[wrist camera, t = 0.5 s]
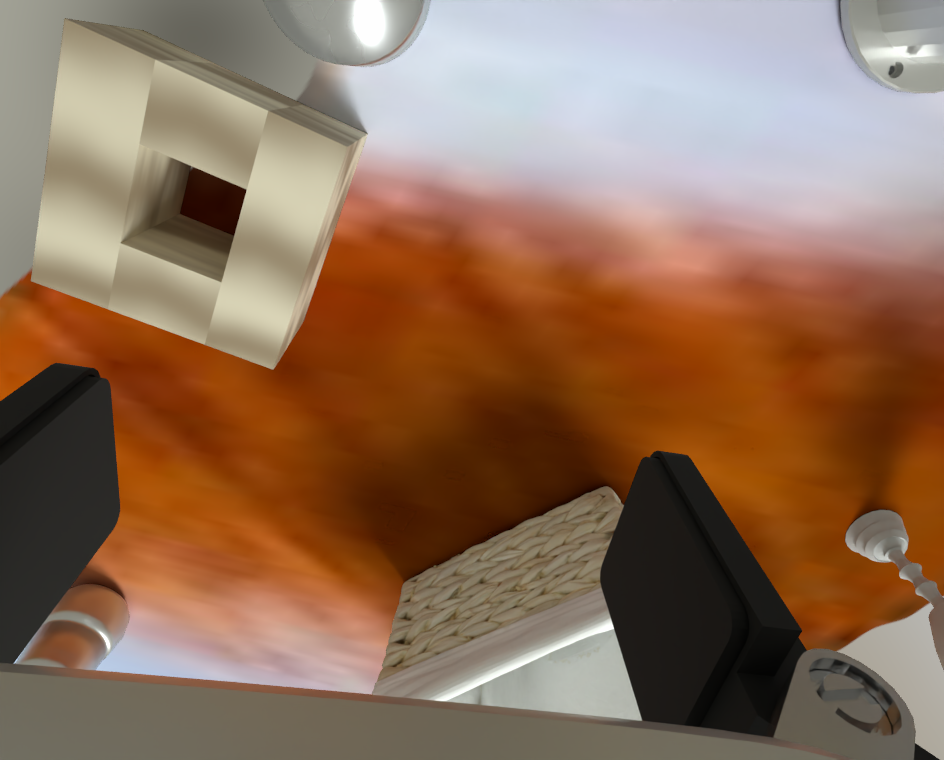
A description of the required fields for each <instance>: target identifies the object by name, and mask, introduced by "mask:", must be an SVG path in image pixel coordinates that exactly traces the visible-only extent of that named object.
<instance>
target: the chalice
mask: <svg viewBox="0 0 944 760" xmlns="http://www.w3.org/2000/svg"><path fill="white" fill-rule="evenodd" d="M908 540H909V539H908V536H907V534H906V530H905V527H904V526H903V521H902V518H901V517H900V516H899V515H898V514H897V513H895V512H893V511H890V510H878V511H872V512H870V513H867V514H865V515H863V516H861V517H860V518H858V519H857V520H855V521H854V523H853V524H852V525H851V526H850V527H849V529H848V531H847V533H846V539H845V541H846V543H847V546H848V547H849V548H850V549H851V550H852V551H855V552H858V553H860V554H861V555H863V556H865V557H868V558H869V559H871V560H873V561H877V562H891V561H892V562H894V563H895V564H896V565H897V567H898V568H899V570H900V572H899V576H900V577H901V578H902V579H908V580H909V581H911V582H912V583H913V584H914V586H915V588H916V594H917V595H919V596H923V597H924V598H925V599H927V600H928V601H929V602H931V604H932V605H933V607H934V609H933V610H932V611H931V612H930V614H929V621H930V626H931V630H932V635H933V640H934V644H935V648H936V652H937V654H938V657H939V659H940V662H941V665H942V667H943V670H944V598H943V597H942V596H941V594H940V593H939V591H938V589H937V584H936V583H935V582H933V581H929V580H928V579H926V578H924V577H923V575H922V573H921V569H922V567H921V566H920V565H919V564H917V563H912V562H910V561H909V560H907V559H906V557H905V556H904V553H905V552H906V550H907V546H908Z"/></svg>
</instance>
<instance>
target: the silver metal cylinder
mask: <svg viewBox="0 0 944 760" xmlns="http://www.w3.org/2000/svg"><path fill="white" fill-rule="evenodd" d="M263 1H264V3H265V5H266V7H267V9H268V11H269V13H270V15H271V16H272V18H273V19H274V21H275V22H276V24H277V25H278V27H279V28H280V29H281V30H282V31H283V33H284V34H285V35H286V36H287V37H288V38H289V39H290V40H291V41H292V42H293V43H294V44H296V45H297V46H298V47H300V48H301V49H302V50H304V51H305V52H307V53H309V54H311V55H312V56H314V57H316V58H318V59H321V60H323V61H326V62H330V63H334V64H341V65H350V66H359V67H372V66H377V65H381V64H384V63H387V62H389V61H391V60H393V59H395V58H397V57H398V56H400V55H401V54H402V53H404V52H405V51H406V50H407V49H408V48H409V47H410V46H411V45H412V44H413V42H414V41H415V40H416V38H417V37H418V35H419V33H420V32H421V30H422V28H423V26H424V23H425V21H426V18H427V15H428V11H429V7H430V1H431V0H263Z"/></svg>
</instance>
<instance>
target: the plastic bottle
mask: <svg viewBox="0 0 944 760" xmlns="http://www.w3.org/2000/svg"><path fill="white" fill-rule="evenodd" d="M129 618H130V615H129V610H128V605H127V603H126V601H125V600H124V599H123V598H122V597H121V596H120V595H119V594H118V593H117V592H115V591H114V590H112V589H110V588H107V587H104V586H101V585H96V584H83V585H79V586H76V587H73V588H70V589H68V591H67V592H66V593H65V595H64V596H63V597H62V599H61V600H60V601H59V603H58V604H57V605H56V607H55V608H54V609H53V611H52V612H51V614H50V615H49V616H48V618H47V619H46V620H45V622H44V623H43V624H42V626H41V627H40V628H39V630H38V631H37V632H36V634H35V635H34V636H33V638H32V639H31V640H30V642H29V643H28V644H27V646H26V647H25V649H24V650H23V652H22V653H21V655H20V657H19V658H18V660H17V661H16V663H15V664H24V665H37V666H49V667H61V668H72V669H84V670H96V669H97V667H98V666H99V665H100V663H101V662H102V660H104V659H105V658H106V657H107V656H108V655H109V654H110V653H111V651H112V650H113V649H114V648H115V646H116V645H117V644H118V643H119V642H120V640H121V639H122V638H123V636H124V633H125V631H126V628H127V625H128V623H129Z"/></svg>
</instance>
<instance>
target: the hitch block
mask: <svg viewBox="0 0 944 760" xmlns="http://www.w3.org/2000/svg"><path fill="white" fill-rule="evenodd" d="M367 135H368V134H366V133H364V132H362V131H360V130H358V129H356V128H353V127H351V126H349V125H347V124H345V123H343V122H340V121H338V120H336V119H334V118H332V117H330V116H327V115H325V114H323V113H321V112H319V111H317V110H314V109H312V108H310V107H308V106H306V105H304V104H302V103H299V102H297V101H295V100H293V99H291V98H289V97H286V96H284V95H282V94H280V93H278V92H276V91H273V90H271V89H269V88H267V87H265V86H263V85H260V84H258V83H256V82H254V81H252V80H250V79H247V78H245V77H243V76H241V75H239V74H237V73H234V72H232V71H230V70H228V69H226V68H223V67H221V66H219V65H217V64H215V63H212V62H211V61H209V60H206V59H204V58H202V57H200V56H198V55H195V54H193V53H191V52H189V51H187V50H185V49H183V48H180V47H178V46H176V45H174V44H172V43H170V42H167V41H165V40H163V39H161V38H159V37H157V36H154V35H152V34H150V33H148V32H146V31H144V30H137V29H130V28H124V27H117V26H111V25H104V24H98V23H91V22H85V21H79V20H72V19H66V18H65V20H64V27H63V35H62V43H61V51H60V59H59V67H58V74H57V82H56V90H55V97H54V105H53V113H52V121H51V129H50V136H49V144H48V152H47V160H46V168H45V176H44V183H43V192H42V199H41V207H40V215H39V223H38V231H37V239H36V246H35V254H34V261H33V269H32V277H31V281H32V282H35V283H38V284H41V285H43V286H46V287H49V288H51V289H54V290H57V291H60V292H62V293H65V294H68V295H71V296H73V297H76V298H79V299H82V300H84V301H87V302H90V303H92V304H95V305H98V306H101V307H103V308H106V309H109V310H112V311H114V312H117V313H120V314H123V315H125V316H128V317H131V318H133V319H136V320H139V321H142V322H144V323H147V324H150V325H153V326H155V327H158V328H161V329H164V330H166V331H169V332H172V333H174V334H177V335H180V336H183V337H185V338H188V339H191V340H194V341H196V342H199V343H202V344H205V345H207V346H210V347H213V348H215V349H218V350H221V351H224V352H226V353H229V354H232V355H235V356H237V357H240V358H243V359H246V360H248V361H251V362H254V363H256V364H259V365H262V366H265V367H267V368H270V369H274V368H275V366H276V365H277V363H278V361H279V360H280V358H281V357H282V355H283V354H284V352H285V350H286V349H287V347H288V346H289V344H290V342H291V341H292V339H293V338H294V336H295V334H296V333H297V331H298V330H299V328H300V326H301V325H302V323H303V321H304V318H305V315H306V312H307V309H308V306H309V304H310V301H311V298H312V295H313V292H314V289H315V286H316V283H317V280H318V277H319V274H320V272H321V269H322V266H323V263H324V260H325V257H326V254H327V251H328V248H329V245H330V242H331V240H332V237H333V234H334V231H335V228H336V225H337V222H338V219H339V216H340V213H341V210H342V208H343V205H344V202H345V199H346V196H347V193H348V190H349V187H350V184H351V181H352V179H353V176H354V173H355V170H356V167H357V164H358V161H359V158H360V155H361V152H362V149H363V147H364V144H365V141H366V138H367ZM191 166H192V167H195V168H197V169H199V170H202V171H204V172H207V173H209V174H211V175H214V176H216V177H218V178H221V179H223V180H225V181H228V182H230V183H232V184H235V185H237V186H240V187H242V188H244V189H247V191H246V195H245V198H244V202H243V206H242V209H241V213H240V217H239V220H238V224H237V228H236V231H235V235H234V236H233V235H231V234H228V233H226V232H223V231H221V230H218V229H216V228H213V227H211V226H208V225H206V224H204V223H201V222H199V221H196V220H194V219H191V218H189V217H186V216H184V215H181V214H180V211H181V207H182V203H183V198H184V194H185V189H186V185H187V181H188V176H189V172H190V168H191Z"/></svg>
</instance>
